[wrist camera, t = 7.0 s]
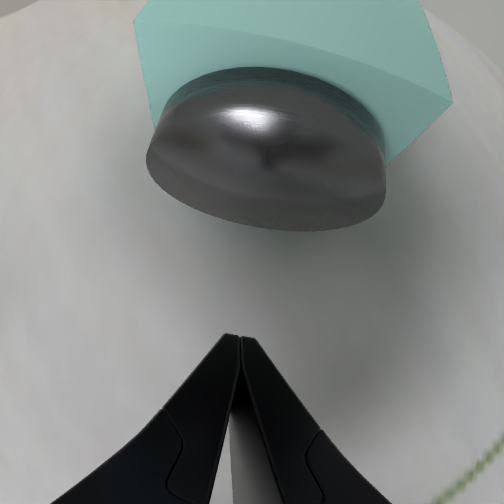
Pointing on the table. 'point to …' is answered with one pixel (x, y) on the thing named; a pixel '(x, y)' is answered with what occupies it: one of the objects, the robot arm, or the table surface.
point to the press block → (304, 52)
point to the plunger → (270, 150)
